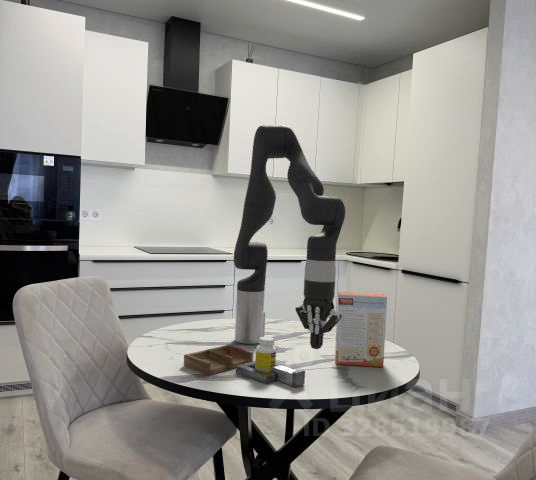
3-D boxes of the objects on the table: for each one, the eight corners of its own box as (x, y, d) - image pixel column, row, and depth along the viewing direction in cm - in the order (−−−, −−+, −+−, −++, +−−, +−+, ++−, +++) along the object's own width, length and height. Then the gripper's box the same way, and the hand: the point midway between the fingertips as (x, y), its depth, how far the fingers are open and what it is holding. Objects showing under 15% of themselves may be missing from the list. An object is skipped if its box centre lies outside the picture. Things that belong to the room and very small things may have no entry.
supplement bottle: (272, 378, 132) (274, 341, 131) (252, 376, 133) (254, 339, 132) (276, 372, 137) (278, 336, 137) (257, 370, 138) (258, 335, 138)
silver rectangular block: (280, 375, 134) (281, 362, 134) (304, 384, 128) (305, 370, 128) (271, 378, 131) (271, 365, 131) (295, 387, 126) (296, 373, 125)
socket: (263, 365, 143) (264, 358, 143) (293, 375, 136) (293, 367, 135) (235, 373, 135) (236, 365, 135) (265, 384, 127) (266, 376, 127)
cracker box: (381, 362, 151) (385, 293, 150) (383, 368, 146) (388, 296, 144) (334, 358, 153) (338, 290, 152) (334, 364, 147) (338, 293, 146)
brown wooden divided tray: (228, 355, 151) (229, 344, 151) (252, 362, 145) (253, 352, 144) (183, 366, 139) (184, 354, 139) (207, 375, 132) (207, 363, 132)
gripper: (351, 280, 121) (347, 351, 122) (307, 273, 130) (304, 339, 131) (333, 283, 115) (329, 357, 116) (289, 275, 124) (285, 344, 125)
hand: (315, 348), depth 123 cm, fingers closed
